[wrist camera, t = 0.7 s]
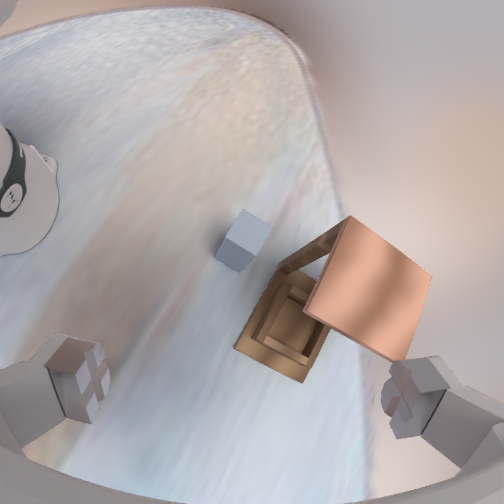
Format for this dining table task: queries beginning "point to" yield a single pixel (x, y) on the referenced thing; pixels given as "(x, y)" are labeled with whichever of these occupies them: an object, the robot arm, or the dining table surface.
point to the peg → (243, 241)
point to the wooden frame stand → (337, 301)
